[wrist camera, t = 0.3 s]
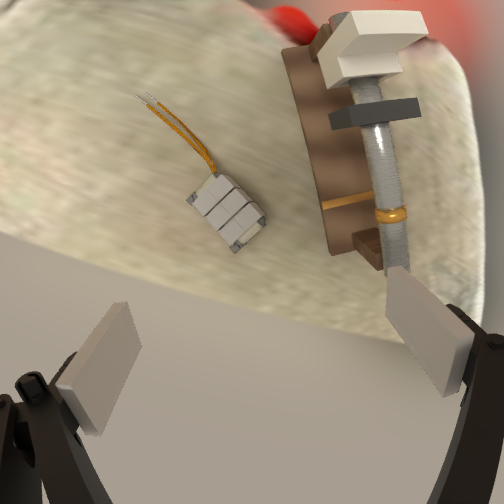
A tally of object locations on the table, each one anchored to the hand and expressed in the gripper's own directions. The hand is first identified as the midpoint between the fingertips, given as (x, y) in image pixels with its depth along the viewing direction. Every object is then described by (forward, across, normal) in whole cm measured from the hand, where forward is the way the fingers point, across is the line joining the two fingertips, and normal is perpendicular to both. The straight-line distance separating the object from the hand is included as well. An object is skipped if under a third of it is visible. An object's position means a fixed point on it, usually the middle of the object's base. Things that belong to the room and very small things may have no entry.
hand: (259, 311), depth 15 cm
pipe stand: (+28, +13, +7) cm, 32 cm away
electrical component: (+28, -7, +7) cm, 30 cm away
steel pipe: (+18, +13, +7) cm, 23 cm away
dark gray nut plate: (+20, +13, +10) cm, 25 cm away
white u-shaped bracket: (+19, +12, +15) cm, 27 cm away
